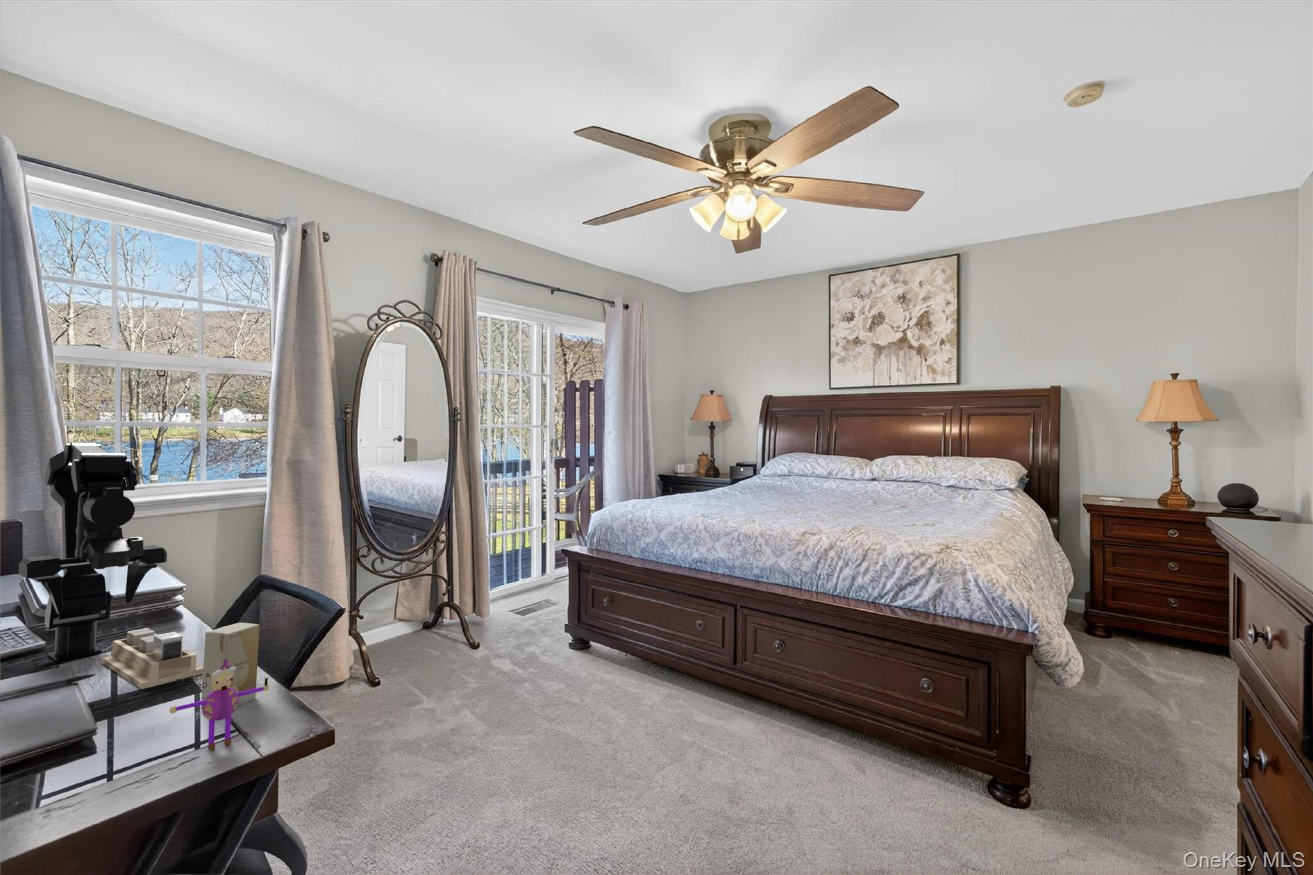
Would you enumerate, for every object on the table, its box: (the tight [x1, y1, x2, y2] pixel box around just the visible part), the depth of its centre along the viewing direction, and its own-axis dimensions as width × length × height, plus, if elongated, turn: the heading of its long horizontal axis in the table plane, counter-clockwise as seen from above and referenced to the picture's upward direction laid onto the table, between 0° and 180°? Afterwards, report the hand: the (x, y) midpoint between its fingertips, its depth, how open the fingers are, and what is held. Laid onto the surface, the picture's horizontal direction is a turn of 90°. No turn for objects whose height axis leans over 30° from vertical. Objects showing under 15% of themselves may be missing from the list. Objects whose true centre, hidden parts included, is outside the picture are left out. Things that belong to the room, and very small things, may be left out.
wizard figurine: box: [168, 658, 270, 751], centre depth 81 cm, size 11×3×12 cm, turn 136°
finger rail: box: [101, 627, 204, 690], centre depth 109 cm, size 21×9×6 cm, turn 57°
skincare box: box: [200, 622, 260, 711], centre depth 94 cm, size 6×4×12 cm
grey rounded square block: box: [153, 631, 184, 662], centre depth 105 cm, size 4×3×6 cm, turn 56°
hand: (95, 608), depth 106 cm, fingers open, 9 cm apart
